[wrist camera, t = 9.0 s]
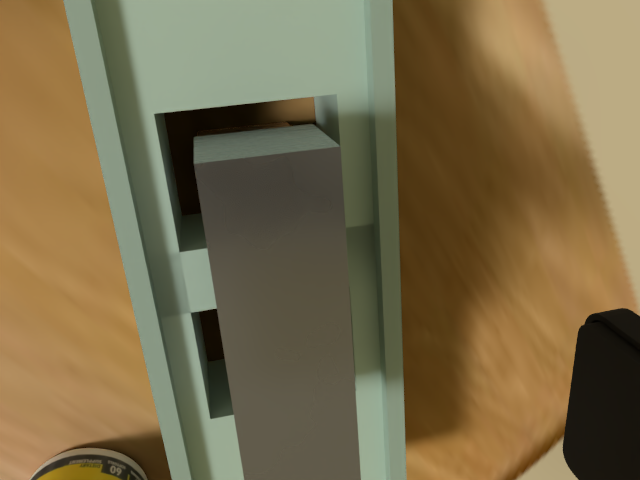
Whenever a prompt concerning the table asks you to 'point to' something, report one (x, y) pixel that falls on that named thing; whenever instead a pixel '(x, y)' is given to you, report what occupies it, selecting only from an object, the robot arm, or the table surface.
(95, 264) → the table surface
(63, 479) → the supplement bottle
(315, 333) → the tall taupe block
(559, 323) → the table surface
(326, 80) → the rail
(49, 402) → the table surface
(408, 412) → the table surface
